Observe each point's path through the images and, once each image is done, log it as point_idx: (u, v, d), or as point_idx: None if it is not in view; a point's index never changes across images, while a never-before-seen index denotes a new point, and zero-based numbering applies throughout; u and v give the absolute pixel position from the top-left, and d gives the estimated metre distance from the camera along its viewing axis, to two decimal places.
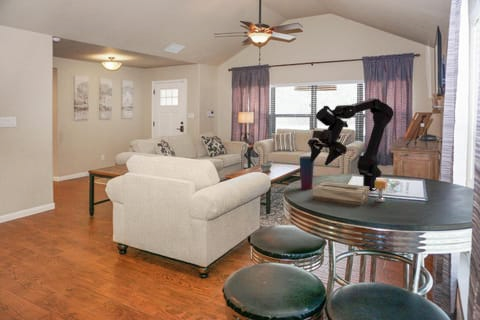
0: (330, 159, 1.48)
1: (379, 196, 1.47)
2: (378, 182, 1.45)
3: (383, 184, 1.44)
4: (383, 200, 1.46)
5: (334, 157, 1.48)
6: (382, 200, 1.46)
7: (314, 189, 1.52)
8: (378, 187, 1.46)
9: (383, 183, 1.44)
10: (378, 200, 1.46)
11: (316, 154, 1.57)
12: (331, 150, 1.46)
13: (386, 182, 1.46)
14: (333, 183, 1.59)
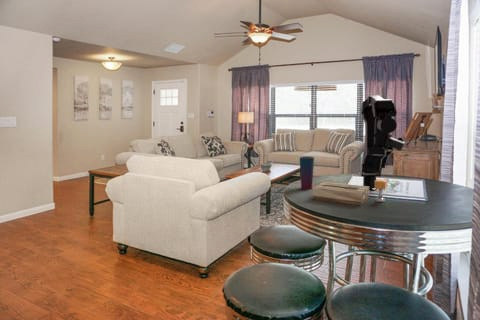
0: None
1: (379, 196, 1.47)
2: (378, 182, 1.45)
3: (383, 184, 1.44)
4: (383, 200, 1.46)
5: None
6: (382, 200, 1.46)
7: (314, 189, 1.52)
8: (378, 187, 1.46)
9: (383, 183, 1.44)
10: (378, 200, 1.46)
11: None
12: (390, 153, 1.49)
13: (386, 182, 1.46)
14: (333, 183, 1.59)
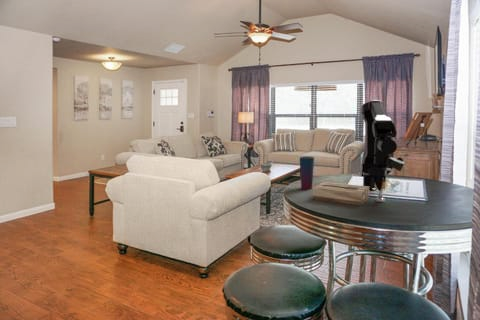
0: None
1: (379, 196, 1.47)
2: None
3: (383, 184, 1.44)
4: (383, 200, 1.46)
5: None
6: (382, 200, 1.46)
7: (314, 189, 1.52)
8: None
9: (383, 183, 1.44)
10: (378, 200, 1.46)
11: None
12: None
13: (386, 182, 1.46)
14: (333, 183, 1.59)
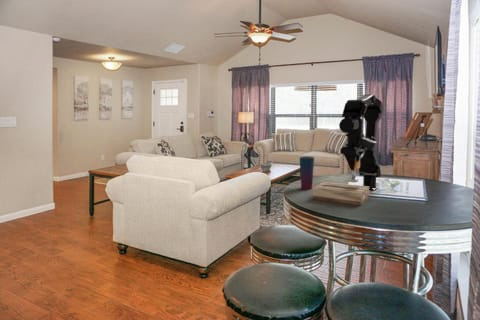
0: None
1: (352, 176, 1.48)
2: None
3: (356, 164, 1.45)
4: (356, 180, 1.47)
5: None
6: (355, 180, 1.47)
7: (314, 189, 1.52)
8: None
9: (356, 163, 1.45)
10: (351, 180, 1.47)
11: None
12: (362, 153, 1.49)
13: (359, 162, 1.47)
14: (333, 183, 1.59)
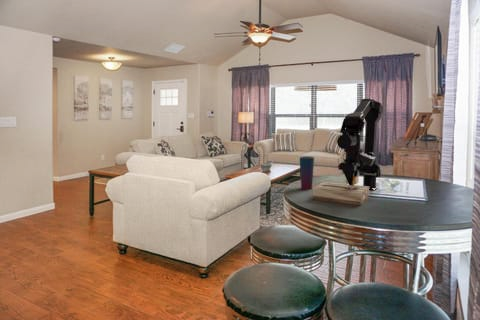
0: None
1: None
2: None
3: (354, 179, 1.46)
4: None
5: None
6: None
7: (314, 189, 1.52)
8: None
9: (354, 178, 1.46)
10: None
11: None
12: (360, 168, 1.50)
13: (357, 177, 1.48)
14: (333, 183, 1.59)
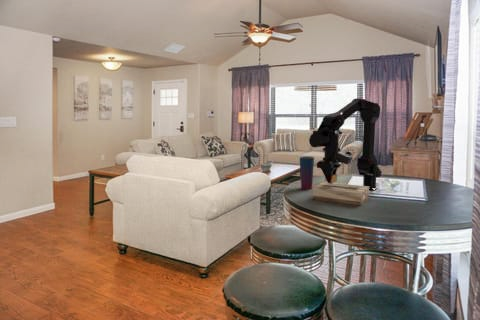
0: None
1: None
2: None
3: (332, 177, 1.51)
4: None
5: None
6: None
7: (314, 189, 1.52)
8: None
9: (332, 176, 1.51)
10: None
11: None
12: (339, 166, 1.55)
13: (336, 175, 1.53)
14: (333, 183, 1.59)
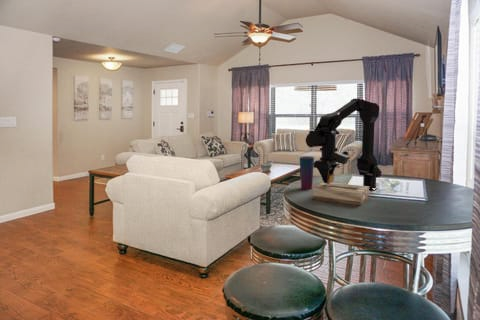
0: None
1: None
2: None
3: (329, 177, 1.52)
4: None
5: None
6: None
7: (314, 189, 1.52)
8: None
9: (329, 176, 1.52)
10: None
11: None
12: (336, 166, 1.56)
13: (333, 176, 1.54)
14: (333, 183, 1.59)
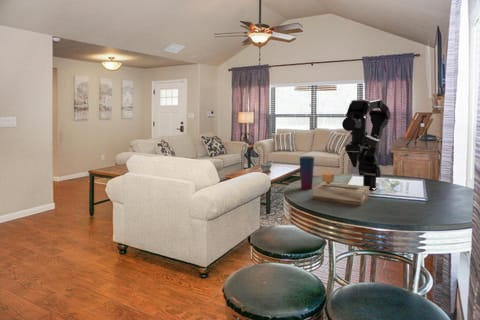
0: None
1: None
2: (325, 175, 1.53)
3: (329, 177, 1.52)
4: None
5: None
6: None
7: (314, 189, 1.52)
8: (325, 180, 1.53)
9: (329, 176, 1.52)
10: None
11: None
12: (367, 150, 1.60)
13: (333, 176, 1.54)
14: (333, 183, 1.59)
